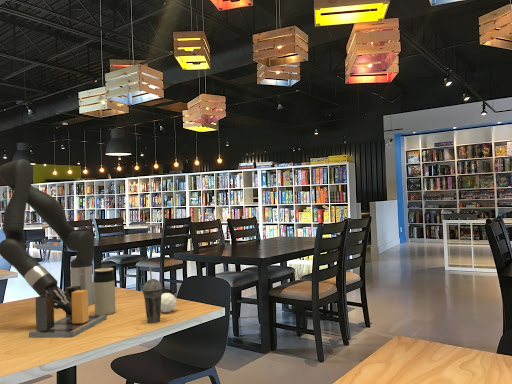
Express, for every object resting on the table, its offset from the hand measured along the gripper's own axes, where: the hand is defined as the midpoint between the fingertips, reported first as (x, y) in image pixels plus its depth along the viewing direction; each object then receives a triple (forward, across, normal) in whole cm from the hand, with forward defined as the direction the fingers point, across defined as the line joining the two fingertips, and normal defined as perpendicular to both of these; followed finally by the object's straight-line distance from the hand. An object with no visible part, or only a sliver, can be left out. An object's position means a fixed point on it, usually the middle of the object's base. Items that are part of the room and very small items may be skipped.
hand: (72, 313), depth 153 cm
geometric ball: (+23, +21, -16) cm, 36 cm away
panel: (+3, 0, +4) cm, 5 cm away
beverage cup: (+23, +8, -16) cm, 29 cm away
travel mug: (+5, +20, +2) cm, 21 cm away
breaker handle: (+4, 0, 0) cm, 4 cm away
